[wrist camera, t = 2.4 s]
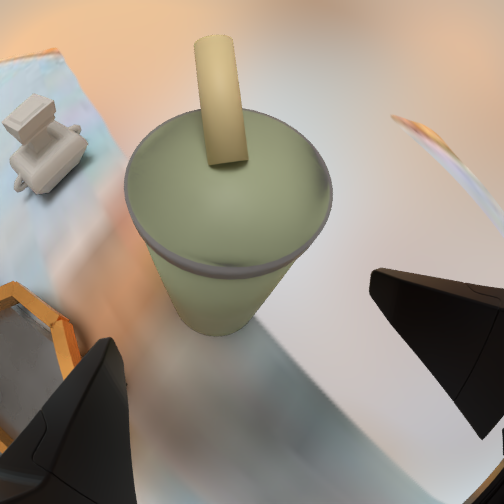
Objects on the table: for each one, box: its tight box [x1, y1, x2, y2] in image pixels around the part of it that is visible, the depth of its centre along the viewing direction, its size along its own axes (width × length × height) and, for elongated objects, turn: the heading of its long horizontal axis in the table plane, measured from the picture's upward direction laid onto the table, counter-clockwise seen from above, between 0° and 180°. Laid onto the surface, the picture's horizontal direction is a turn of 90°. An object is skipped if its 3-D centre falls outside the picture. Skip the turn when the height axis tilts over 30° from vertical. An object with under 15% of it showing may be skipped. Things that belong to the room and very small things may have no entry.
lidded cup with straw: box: [124, 35, 333, 336], centre depth 12 cm, size 7×6×16 cm
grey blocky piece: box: [2, 94, 88, 194], centre depth 18 cm, size 9×7×8 cm
